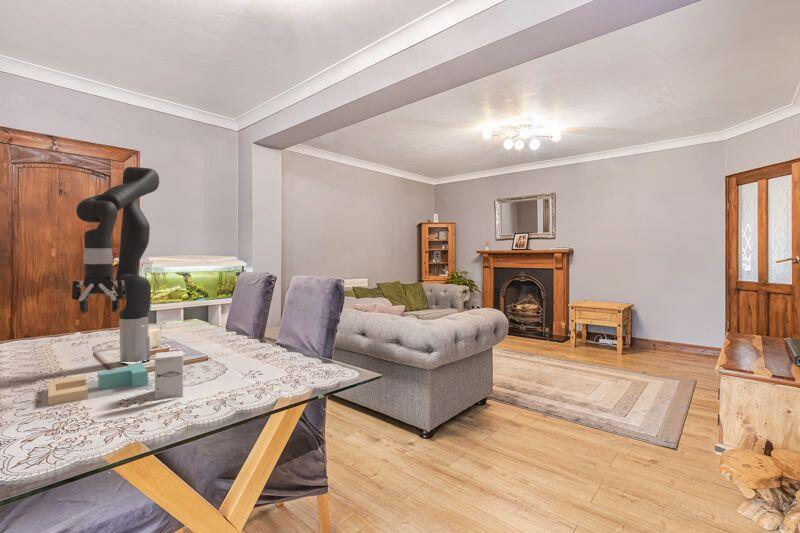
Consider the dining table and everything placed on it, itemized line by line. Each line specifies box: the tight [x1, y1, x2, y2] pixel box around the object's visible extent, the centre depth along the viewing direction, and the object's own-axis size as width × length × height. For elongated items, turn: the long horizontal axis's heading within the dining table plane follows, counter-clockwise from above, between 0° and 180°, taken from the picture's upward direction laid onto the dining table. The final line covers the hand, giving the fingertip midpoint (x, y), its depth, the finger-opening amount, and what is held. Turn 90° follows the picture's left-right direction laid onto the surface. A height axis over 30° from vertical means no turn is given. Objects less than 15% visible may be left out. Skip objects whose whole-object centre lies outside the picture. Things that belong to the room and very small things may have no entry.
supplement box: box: [154, 350, 184, 402], centre depth 120 cm, size 7×7×13 cm
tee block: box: [97, 362, 149, 390], centre depth 126 cm, size 12×12×4 cm
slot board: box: [40, 375, 154, 409], centre depth 122 cm, size 26×18×4 cm
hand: (99, 312), depth 130 cm, fingers open, 8 cm apart
